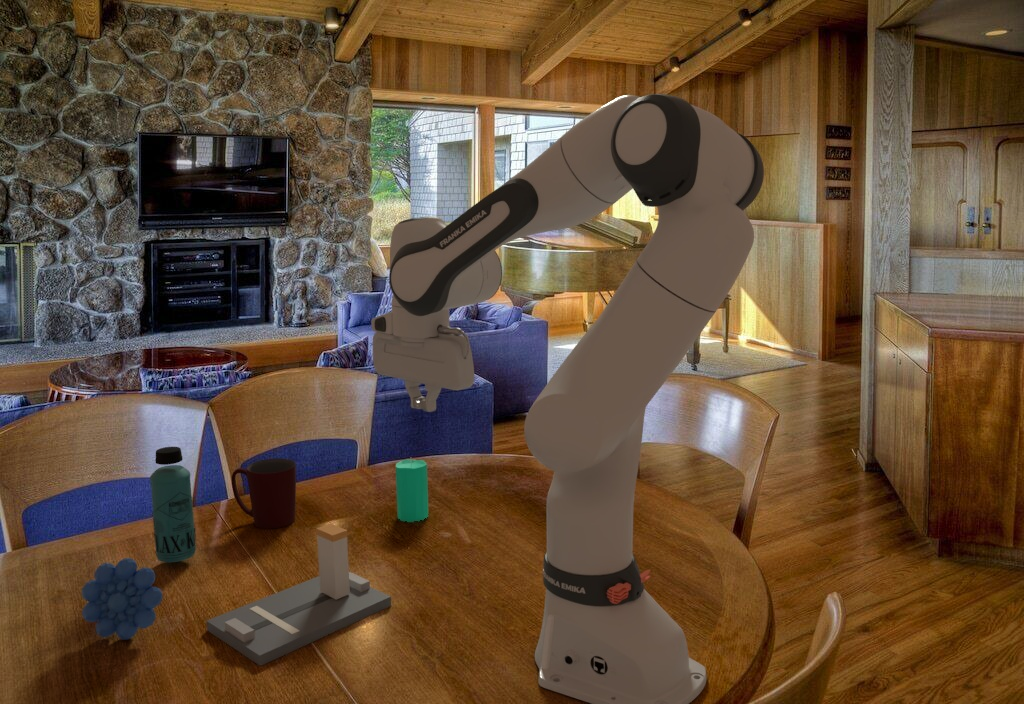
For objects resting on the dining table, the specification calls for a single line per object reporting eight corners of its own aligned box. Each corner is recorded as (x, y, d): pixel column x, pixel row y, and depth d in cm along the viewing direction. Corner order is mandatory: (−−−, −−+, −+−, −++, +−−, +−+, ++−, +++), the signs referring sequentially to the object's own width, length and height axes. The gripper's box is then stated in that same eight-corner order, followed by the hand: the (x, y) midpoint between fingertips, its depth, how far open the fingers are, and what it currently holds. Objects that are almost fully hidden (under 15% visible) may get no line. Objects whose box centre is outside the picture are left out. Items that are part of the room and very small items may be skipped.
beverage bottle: (147, 566, 142) (136, 451, 138) (180, 552, 148) (170, 441, 144) (175, 574, 139) (164, 456, 135) (206, 559, 145) (197, 445, 141)
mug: (226, 530, 157) (222, 473, 155) (243, 512, 166) (239, 458, 164) (291, 530, 157) (287, 473, 155) (304, 513, 165) (301, 458, 163)
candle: (423, 523, 159) (421, 461, 157) (393, 521, 161) (390, 460, 158) (432, 511, 165) (430, 452, 163) (403, 509, 166) (400, 450, 164)
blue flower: (180, 624, 123) (173, 546, 120) (157, 649, 116) (149, 566, 114) (102, 622, 124) (94, 544, 121) (75, 646, 117) (66, 565, 115)
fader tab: (350, 593, 128) (347, 530, 126) (336, 599, 126) (332, 535, 124) (334, 585, 131) (330, 523, 129) (319, 591, 129) (316, 528, 127)
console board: (391, 605, 127) (390, 589, 127) (260, 666, 112) (259, 647, 111) (335, 578, 137) (334, 562, 136) (207, 630, 121) (205, 612, 120)
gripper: (482, 326, 127) (484, 416, 130) (394, 314, 141) (397, 396, 144) (452, 331, 123) (454, 424, 125) (364, 319, 136) (368, 403, 139)
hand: (423, 409), depth 135 cm, fingers closed
